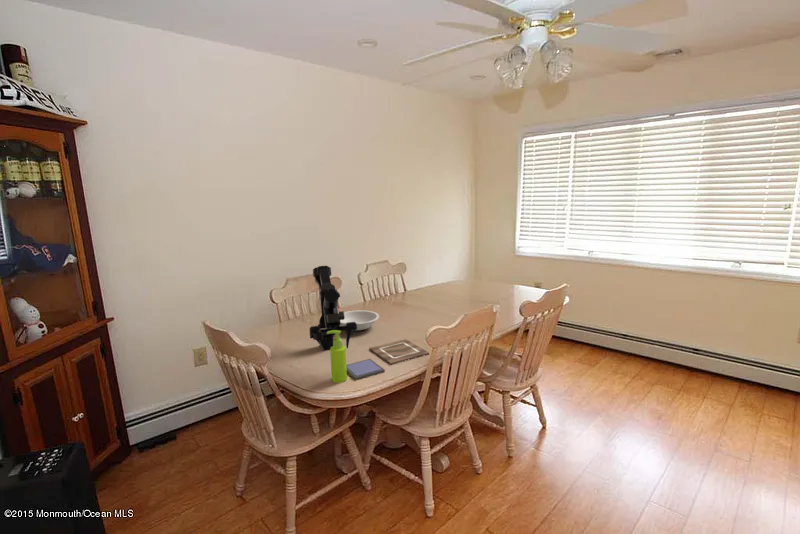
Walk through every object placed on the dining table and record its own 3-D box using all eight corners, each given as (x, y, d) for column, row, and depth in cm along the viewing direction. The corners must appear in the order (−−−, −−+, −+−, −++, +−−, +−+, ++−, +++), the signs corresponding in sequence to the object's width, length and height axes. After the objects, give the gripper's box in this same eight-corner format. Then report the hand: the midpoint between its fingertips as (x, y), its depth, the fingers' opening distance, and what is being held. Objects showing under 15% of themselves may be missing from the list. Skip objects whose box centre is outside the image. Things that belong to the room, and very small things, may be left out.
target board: (369, 349, 185) (369, 347, 185) (405, 340, 195) (405, 338, 195) (390, 364, 168) (390, 362, 168) (429, 354, 178) (429, 352, 178)
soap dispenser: (330, 376, 159) (328, 328, 155) (348, 375, 159) (345, 328, 155) (327, 382, 153) (325, 333, 149) (345, 382, 153) (343, 333, 149)
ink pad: (342, 368, 166) (342, 365, 166) (370, 360, 172) (370, 358, 172) (355, 380, 155) (355, 377, 155) (384, 371, 161) (384, 369, 161)
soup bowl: (343, 320, 228) (343, 309, 227) (384, 322, 223) (383, 311, 222) (327, 334, 205) (327, 322, 204) (372, 337, 200) (372, 325, 199)
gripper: (308, 307, 155) (311, 343, 147) (355, 302, 161) (361, 337, 152) (308, 320, 164) (311, 355, 156) (352, 315, 169) (358, 349, 161)
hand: (335, 349), depth 156 cm, fingers open, 9 cm apart
